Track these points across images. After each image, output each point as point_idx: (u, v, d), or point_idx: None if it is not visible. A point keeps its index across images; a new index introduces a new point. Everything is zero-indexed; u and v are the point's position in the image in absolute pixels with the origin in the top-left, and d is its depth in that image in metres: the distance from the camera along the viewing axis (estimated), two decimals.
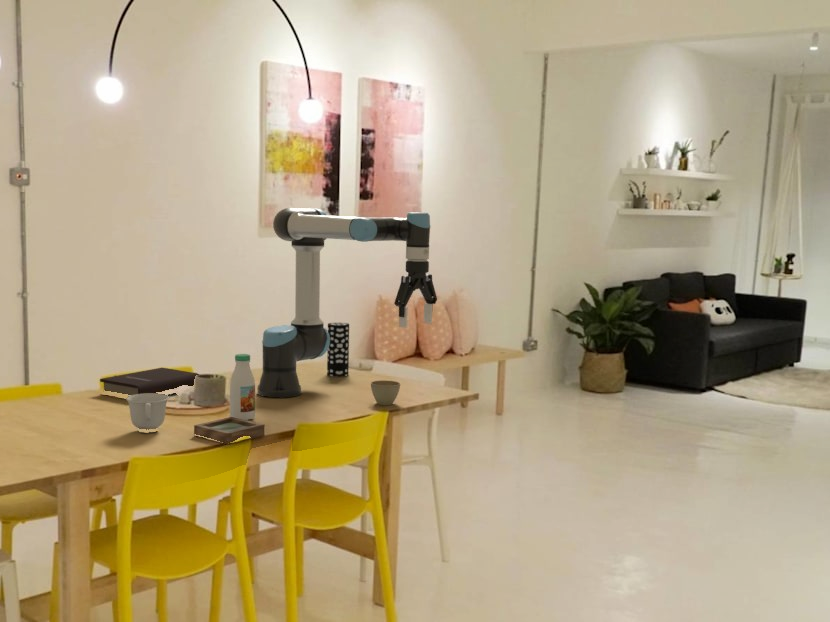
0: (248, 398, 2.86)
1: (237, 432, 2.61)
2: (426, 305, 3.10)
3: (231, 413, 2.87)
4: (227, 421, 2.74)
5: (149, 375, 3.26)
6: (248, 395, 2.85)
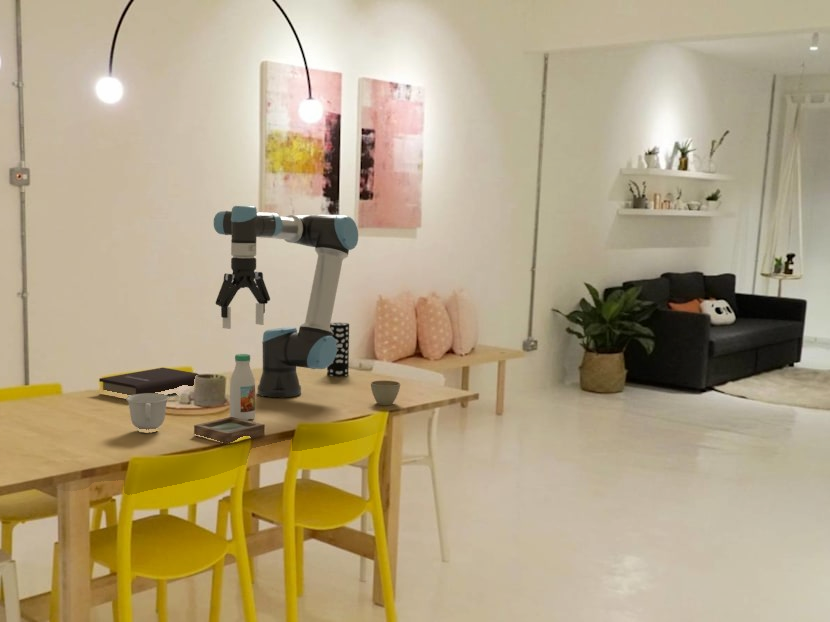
0: (248, 398, 2.86)
1: (237, 432, 2.61)
2: (257, 305, 2.91)
3: (231, 413, 2.87)
4: (227, 421, 2.74)
5: (149, 375, 3.26)
6: (248, 395, 2.85)
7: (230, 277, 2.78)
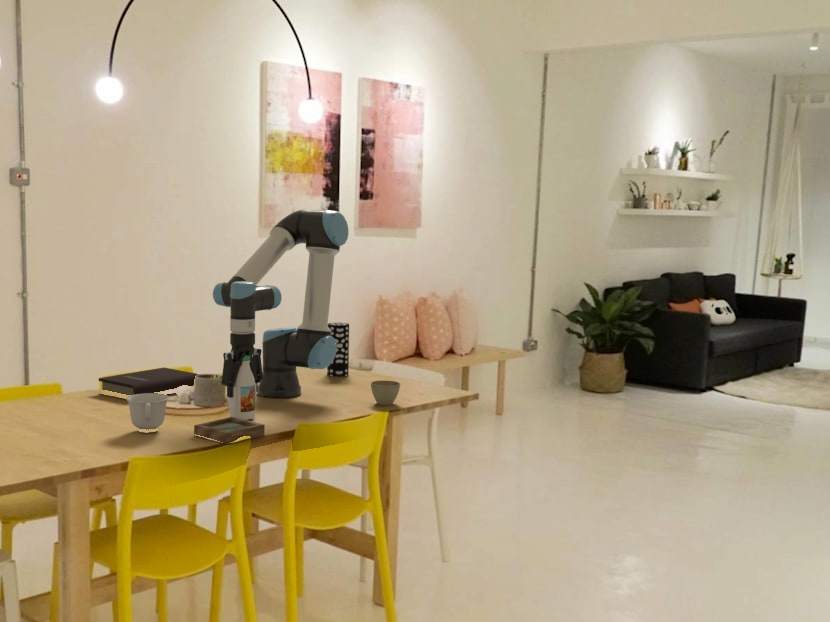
0: (248, 398, 2.86)
1: (237, 432, 2.61)
2: None
3: (231, 413, 2.87)
4: (227, 421, 2.74)
5: (148, 375, 3.26)
6: (248, 395, 2.85)
7: (229, 357, 2.81)
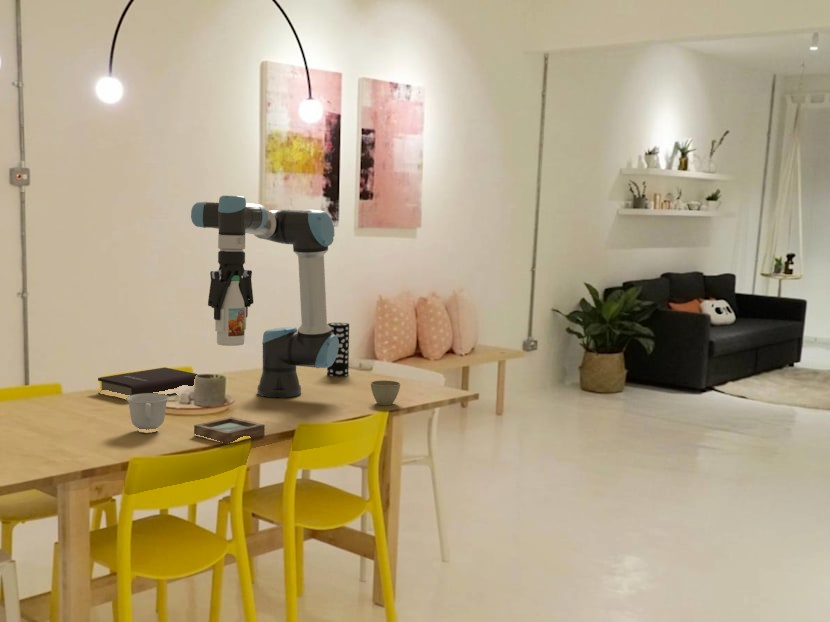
0: (237, 321, 2.64)
1: (237, 432, 2.61)
2: None
3: (218, 338, 2.65)
4: (227, 421, 2.74)
5: (148, 375, 3.26)
6: (236, 318, 2.64)
7: (217, 275, 2.60)
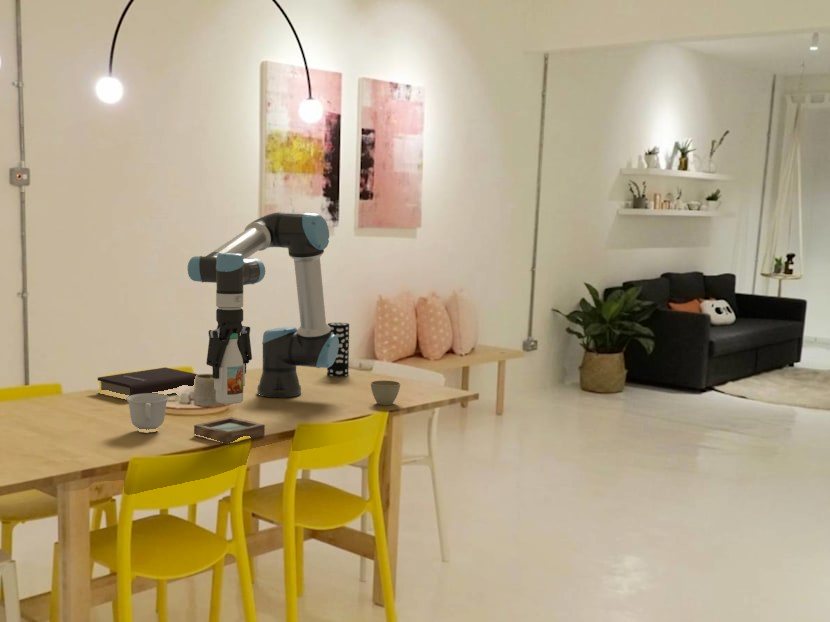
0: (235, 379, 2.63)
1: (237, 432, 2.61)
2: None
3: (217, 396, 2.64)
4: (227, 421, 2.74)
5: (147, 375, 3.26)
6: (235, 376, 2.63)
7: (215, 334, 2.59)
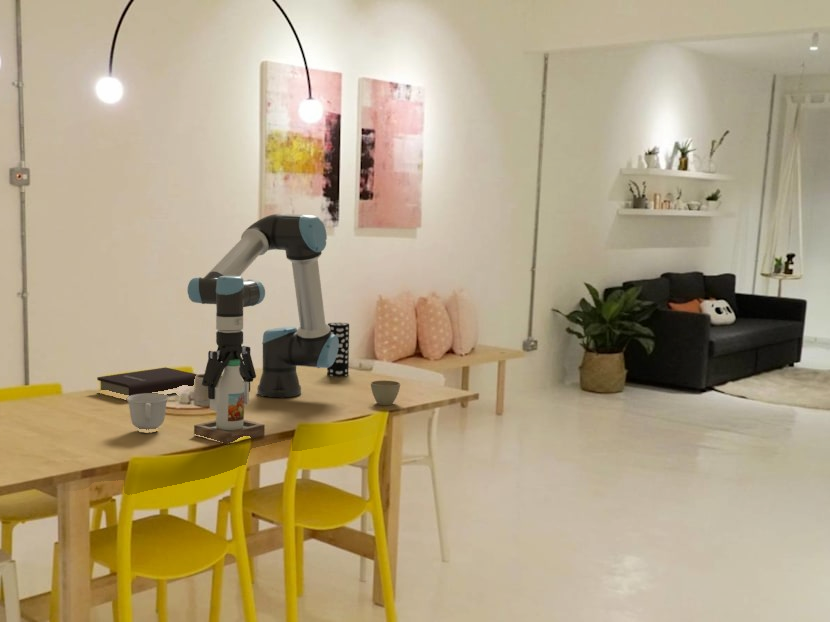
0: (236, 406, 2.64)
1: (237, 432, 2.61)
2: None
3: (217, 422, 2.65)
4: None
5: (147, 375, 3.26)
6: (236, 403, 2.64)
7: (215, 355, 2.59)
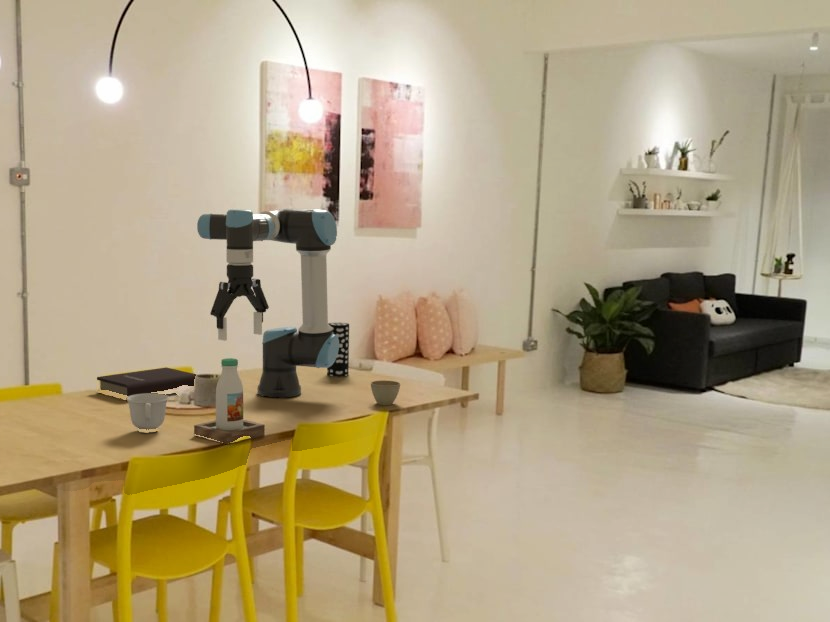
0: (235, 406, 2.64)
1: (237, 432, 2.61)
2: (255, 314, 2.75)
3: (217, 422, 2.65)
4: None
5: (147, 375, 3.26)
6: (235, 403, 2.64)
7: (225, 286, 2.62)
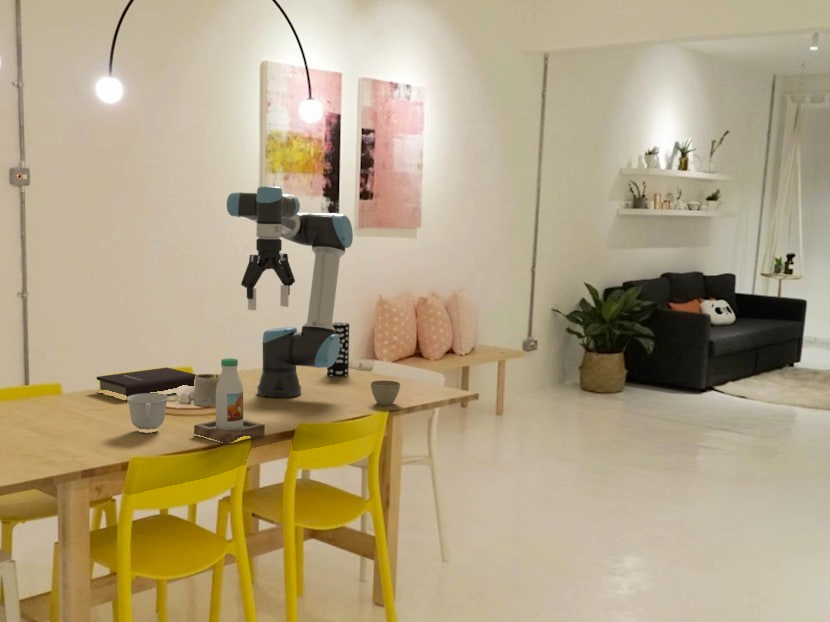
0: (235, 406, 2.64)
1: (237, 432, 2.61)
2: (282, 287, 2.89)
3: (217, 422, 2.65)
4: None
5: (146, 375, 3.26)
6: (235, 403, 2.64)
7: (256, 258, 2.77)
